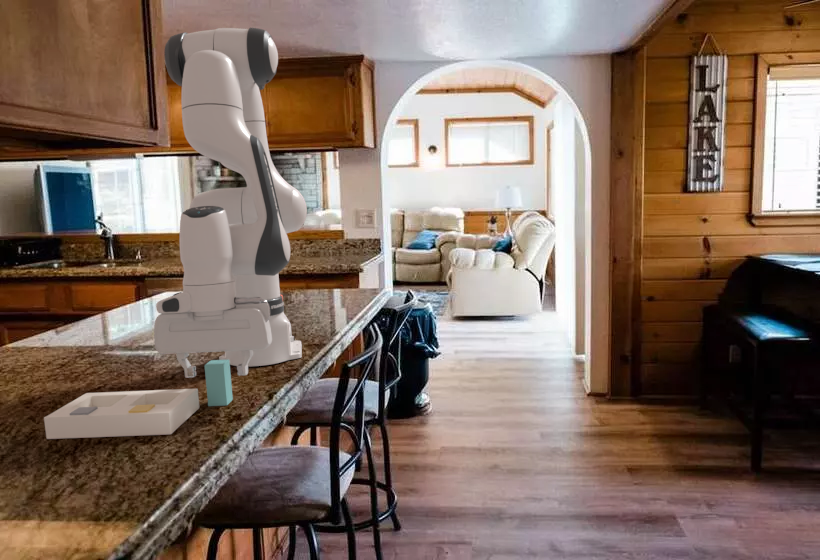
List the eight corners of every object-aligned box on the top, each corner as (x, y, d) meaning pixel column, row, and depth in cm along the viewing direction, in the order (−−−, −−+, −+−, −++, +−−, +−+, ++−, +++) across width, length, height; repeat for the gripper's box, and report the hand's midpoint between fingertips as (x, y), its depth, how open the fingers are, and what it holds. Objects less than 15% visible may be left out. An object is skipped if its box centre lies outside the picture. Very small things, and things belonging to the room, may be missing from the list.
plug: (214, 400, 121) (210, 360, 120) (232, 399, 121) (229, 359, 120) (208, 406, 118) (204, 365, 117) (227, 405, 118) (223, 364, 117)
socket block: (88, 412, 118) (86, 391, 117) (199, 407, 117) (197, 386, 117) (46, 439, 105) (43, 415, 105) (170, 434, 104) (168, 411, 104)
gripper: (273, 293, 120) (278, 369, 121) (161, 299, 120) (168, 373, 122) (264, 298, 113) (270, 377, 115) (146, 304, 114) (154, 382, 116)
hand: (216, 375), depth 118 cm, fingers open, 8 cm apart
